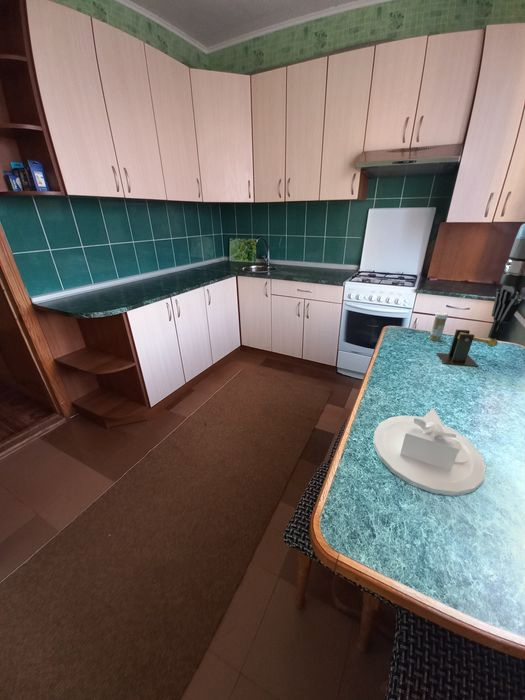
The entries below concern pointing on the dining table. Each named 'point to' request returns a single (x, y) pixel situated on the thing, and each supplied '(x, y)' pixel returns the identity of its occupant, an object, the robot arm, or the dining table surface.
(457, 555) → the dining table surface
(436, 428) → the dish
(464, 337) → the dark grey stand
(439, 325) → the sprinkles bottle
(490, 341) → the tap lever
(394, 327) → the dining table surface
